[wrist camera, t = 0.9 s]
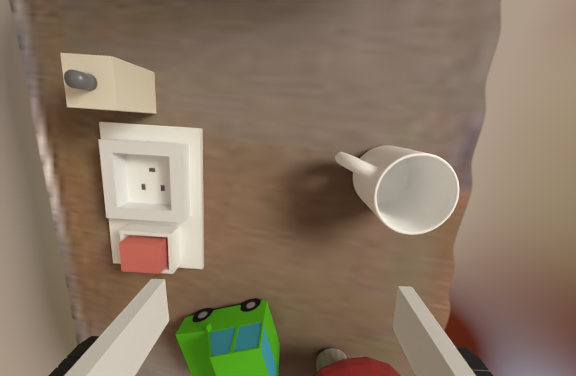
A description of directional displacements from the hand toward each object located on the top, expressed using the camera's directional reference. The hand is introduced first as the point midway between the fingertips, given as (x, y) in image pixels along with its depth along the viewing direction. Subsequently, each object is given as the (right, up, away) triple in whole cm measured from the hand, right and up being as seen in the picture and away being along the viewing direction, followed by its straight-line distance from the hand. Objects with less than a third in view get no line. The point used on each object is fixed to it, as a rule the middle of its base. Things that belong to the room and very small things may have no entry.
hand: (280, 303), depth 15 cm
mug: (+11, +9, +21) cm, 25 cm away
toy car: (-8, -15, +27) cm, 32 cm away
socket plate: (-18, +5, +22) cm, 29 cm away
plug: (-19, +19, +19) cm, 33 cm away
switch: (-18, -2, +21) cm, 28 cm away
